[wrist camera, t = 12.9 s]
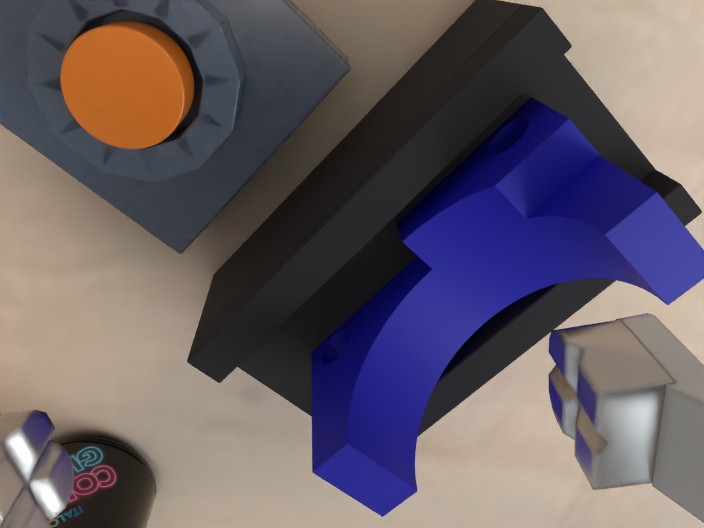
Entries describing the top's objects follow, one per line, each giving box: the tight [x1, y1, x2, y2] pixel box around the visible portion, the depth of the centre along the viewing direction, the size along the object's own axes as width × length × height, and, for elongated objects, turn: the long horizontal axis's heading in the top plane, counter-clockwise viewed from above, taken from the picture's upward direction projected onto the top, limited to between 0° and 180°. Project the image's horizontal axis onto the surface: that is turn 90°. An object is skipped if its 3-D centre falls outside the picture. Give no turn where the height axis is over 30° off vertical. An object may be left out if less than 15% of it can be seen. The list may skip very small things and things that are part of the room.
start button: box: [60, 21, 195, 149], centre depth 18 cm, size 4×4×2 cm
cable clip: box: [311, 97, 704, 517], centre depth 18 cm, size 12×4×6 cm, turn 136°
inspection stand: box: [187, 0, 702, 437], centre depth 22 cm, size 9×16×6 cm, turn 136°
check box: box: [0, 0, 351, 254], centre depth 20 cm, size 10×10×4 cm
